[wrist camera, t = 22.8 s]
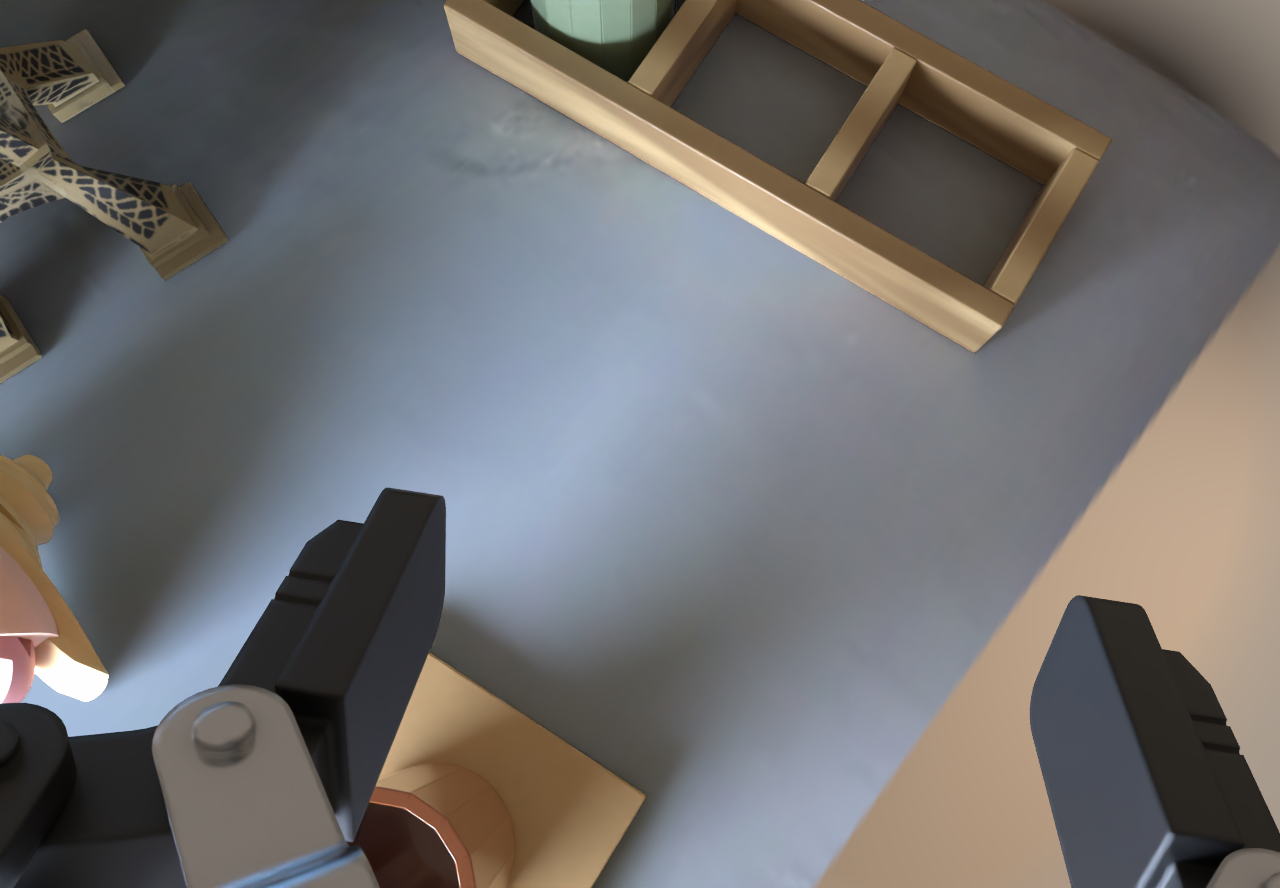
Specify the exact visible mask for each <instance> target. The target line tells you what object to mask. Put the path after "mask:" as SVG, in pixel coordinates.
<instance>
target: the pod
mask: <svg viewBox="0 0 1280 888" xmlns="http://www.w3.org/2000/svg"><path fill="white" fill-rule="evenodd" d="M529 2H530V8H531V15H532V20H533V24H534V29H535V30H536V31H538V32H540V33H542V34H543V35H545V36H547V37H549V38H550V39H552V40H554V41H556V42H557V43H559V44H561V45H563V46H564V47H566V48H568V49H570V50H571V51H573V52H575V53H577V54H578V55H580V56H582V57H584V58H585V59H587V60H589V61H591V62H592V63H594V64H596V65H598V66H599V67H601V68H603V69H604V70H606V71H608V72H610V73H611V74H613V75H615V76H617V77H618V78H620V79H622V80H624V81H628V80H630V79H631V77H632V76H633V74H634V73H635V71H636V70H637V69H638V67H639V66H640V64H641V63H642V61H643V60H644V59H645V57H646V56H647V54H648V53H649V52H650V50H651V49H652V47H653V46H654V44H655V43H656V42H657V40H658V39H659V37H660V36H661V35H662V33H663V32H664V30H665V29H666V27H667V26H668V25H669V23H670V22H671V20H672V19H673V16H674V5H675V0H529Z"/></svg>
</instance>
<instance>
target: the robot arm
mask: <svg viewBox="0 0 1280 888" xmlns="http://www.w3.org/2000/svg"><path fill="white" fill-rule="evenodd" d="M445 542H446V506H445V500H444V497H443V496H440V495H433V494H427V493H420V492H414V491H407V490H400V489H394V488H385V489H384V490H383V491H382V492H381V494H380V496H379V497H378V499H377V501H376V503H375V505H374V506H373V508H372V510H371V512H370V514H369V515H368V517H367V519H366V521H365V523H364V524H362V523H356V522H350V521H343V520H337V521H336V522H334V523H333V524H332V525H330V526H329V527H327V528H326V529H325V530H323V531H322V532H320V533H319V534H318V535H316V536H315V537H313V538H312V539H311V540H309V541H308V542H307V543H306V545H305V546H304V548H303V549H302V551H301V553H300V554H299V556H298V558H297V559H296V561H295V562H294V564H293V566H292V567H291V569H290V573H289V576H286V577H285V579H284V580H283V582H282V584H281V585H280V587H279V589H278V590H277V592H276V595H275V599H274V600H273V599H272V600H271V602H270V603H269V605H268V606H267V608H266V610H265V611H264V613H263V615H262V616H261V618H260V619H259V621H258V623H257V624H256V626H255V628H254V629H253V631H252V632H251V634H250V636H249V637H248V639H247V641H246V642H245V644H244V646H243V647H242V649H241V650H240V652H239V654H238V655H237V657H236V659H235V660H234V662H233V663H232V665H231V667H230V668H229V670H228V672H227V673H226V675H225V676H224V678H223V680H222V681H221V683H220V684H219V686H218V687H215V688H211V689H208V690H205V691H202V692H199V693H197V694H195V695H193V696H191V697H189V698H187V699H185V700H184V701H182V702H181V703H179V704H178V705H176V706H175V707H174V708H173V709H172V710H171V711H170V712H168V714H167V715H166V716H165V717H164V718H163V719H162V721H161V722H160V724H159V725H158V726H154V727H150V728H146V729H140V730H134V731H125V732H115V733H105V734H95V735H85V736H75V737H68V735H67V731H66V727H65V725H64V724H63V722H62V720H61V719H60V718H59V717H58V716H57V715H56V714H55V713H53V712H52V711H50V710H48V709H47V708H44V707H41V706H38V705H34V704H28V703H2V704H0V888H380V887H379V884H378V882H377V880H376V877H375V875H374V873H373V870H372V868H371V866H370V864H369V861H368V859H367V858H366V856H365V854H364V852H363V851H362V849H361V848H360V847H359V846H358V845H354V846H352V847H349V845H348V844H347V842H346V841H349V842H353V841H354V838H355V836H356V833H357V831H358V828H359V826H360V823H361V821H362V818H363V816H364V813H365V811H366V808H367V806H368V803H369V801H370V798H371V796H372V793H373V791H374V788H375V786H376V783H377V781H378V778H379V776H380V773H381V771H382V768H383V766H384V763H385V761H386V758H387V756H388V753H389V751H390V748H391V746H392V743H393V741H394V738H395V736H396V733H397V731H398V728H399V726H400V723H401V721H402V718H403V716H404V713H405V711H406V708H407V706H408V703H409V701H410V698H411V696H412V693H413V691H414V688H415V686H416V683H417V681H418V678H419V676H420V673H421V671H422V668H423V666H424V663H425V661H426V658H427V656H428V653H429V651H430V648H431V646H432V643H433V641H434V638H435V636H436V633H437V630H438V627H439V623H440V619H441V614H442V609H443V603H444V595H445ZM1226 720H1227V719H1226V717H1225V715H1224V712H1223V710H1222V708H1221V706H1220V704H1219V702H1218V700H1217V697H1216V695H1215V693H1214V691H1213V689H1212V687H1211V685H1210V684H1209V683H1208V682H1207V681H1206V680H1205V679H1204V677H1203V676H1202V675H1201V674H1200V673H1199V672H1198V671H1197V670H1196V669H1195V668H1194V667H1193V666H1192V665H1191V664H1190V663H1189V662H1188V660H1187V659H1186V658H1185V657H1184V656H1183V655H1182V654H1181V653H1180V652H1177V651H1170V650H1164V649H1161V646H1160V644H1159V642H1158V639H1157V637H1156V635H1155V632H1154V630H1153V628H1152V625H1151V623H1150V621H1149V618H1148V616H1147V614H1146V612H1145V610H1144V609H1143V608H1142V607H1141V606H1140V605H1137V604H1132V603H1125V602H1119V601H1112V600H1106V599H1099V598H1092V597H1086V596H1080V595H1079V596H1075V597H1074V598H1073V599H1072V600H1071V601H1070V602H1069V604H1068V606H1067V608H1066V610H1065V612H1064V615H1063V617H1062V619H1061V622H1060V624H1059V627H1058V629H1057V631H1056V634H1055V636H1054V638H1053V640H1052V643H1051V645H1050V648H1049V650H1048V652H1047V655H1046V657H1045V660H1044V662H1043V664H1042V666H1041V669H1040V671H1039V674H1038V676H1037V678H1036V681H1035V683H1034V687H1033V691H1032V696H1031V703H1030V725H1031V731H1032V736H1033V740H1034V743H1035V747H1036V751H1037V755H1038V759H1039V763H1040V767H1041V771H1042V775H1043V779H1044V782H1045V786H1046V790H1047V794H1048V798H1049V802H1050V805H1051V810H1052V814H1053V817H1054V821H1055V825H1056V829H1057V833H1058V837H1059V841H1060V845H1061V848H1062V852H1063V856H1064V860H1065V864H1066V868H1067V872H1068V876H1069V879H1070V883H1071V887H1072V888H1280V833H1279V831H1278V828H1277V826H1276V824H1275V822H1274V820H1273V818H1272V816H1271V814H1270V811H1269V809H1268V807H1267V805H1266V803H1265V801H1264V799H1263V796H1262V795H1261V792H1260V790H1259V788H1258V786H1257V783H1256V781H1255V779H1254V777H1253V775H1252V773H1251V770H1250V768H1249V766H1248V764H1247V762H1246V760H1245V758H1244V756H1243V755H1240V754H1239V749H1240V747H1239V745H1238V743H1237V740H1236V738H1235V736H1234V734H1233V732H1232V730H1231V727H1229V726H1226Z"/></svg>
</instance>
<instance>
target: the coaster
mask: <svg viewBox="0 0 1280 888" xmlns="http://www.w3.org/2000/svg"><path fill="white" fill-rule="evenodd" d="M426 762H443V763H451V764H455V765H459V766H462V767H464V768H466V769H469V770H471V771H473V772H474V773H476V774H478V775H479V776H481V777H482V778H483V779H485V780H486V781H487V782H488V783H489V784H490V785H491V786H492V787H493V788H494V789H495V790H496V791H497V793H498V794H499V795H500V797H501V798H502V800H503V801H504V803H505V805H506V807H507V809H508V811H509V814H510V816H511V819H512V823H513V827H514V832H515V840H516V853H515V861H514V866H513V870H512V874H511V877H510V881H509V884H508V887H507V888H592V887H593V885H594V883H595V882H596V880H597V878H598V877H599V875H600V873H601V872H602V870H603V868H604V867H605V865H606V864H607V862H608V860H609V859H610V857H611V855H612V854H613V852H614V850H615V849H616V847H617V845H618V844H619V842H620V840H621V839H622V837H623V835H624V834H625V832H626V830H627V829H628V827H629V825H630V824H631V822H632V820H633V819H634V817H635V815H636V814H637V812H638V810H639V809H640V807H641V805H642V804H643V802H644V800H645V799H646V795H645V794H644V793H642V792H641V791H639V790H638V789H636V788H635V787H633V786H632V785H630V784H629V783H627V782H625V781H624V780H622V779H621V778H619V777H618V776H616V775H615V774H613V773H612V772H610V771H609V770H607V769H606V768H604V767H603V766H601V765H600V764H598V763H597V762H595V761H594V760H592V759H591V758H589V757H588V756H586V755H585V754H583V753H582V752H580V751H579V750H577V749H576V748H574V747H572V746H571V745H569V744H568V743H566V742H565V741H563V740H562V739H560V738H559V737H557V736H556V735H554V734H553V733H551V732H550V731H548V730H547V729H545V728H544V727H542V726H541V725H539V724H538V723H536V722H535V721H533V720H532V719H530V718H529V717H527V716H526V715H524V714H523V713H521V712H520V711H518V710H516V709H515V708H513V707H512V706H510V705H509V704H507V703H506V702H504V701H503V700H501V699H500V698H498V697H497V696H495V695H494V694H492V693H491V692H489V691H488V690H486V689H485V688H483V687H482V686H480V685H479V684H477V683H476V682H474V681H473V680H471V679H470V678H468V677H467V676H465V675H463V674H462V673H460V672H459V671H457V670H456V669H454V668H453V667H451V666H450V665H448V664H447V663H445V662H444V661H442V660H441V659H439V658H438V657H436V656H435V655H433V654H432V653H430V652H429V653H428V656H427V658H426V661H425V663H424V666H423V668H422V671H421V673H420V676H419V678H418V681H417V683H416V686H415V688H414V691H413V693H412V696H411V698H410V701H409V703H408V706H407V708H406V711H405V713H404V716H403V718H402V721H401V723H400V726H399V728H398V731H397V733H396V736H395V738H394V741H393V743H392V746H391V748H390V751H389V753H388V756H387V758H386V761H385V763H384V766H383V768H382V771H381V773H380V775H383V774H386V773H389V772H392V771H394V770H397V769H401V768H405V767H409V766H413V765H416V764H421V763H426Z"/></svg>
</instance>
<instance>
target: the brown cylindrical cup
mask: <svg viewBox="0 0 1280 888" xmlns="http://www.w3.org/2000/svg"><path fill="white" fill-rule="evenodd" d="M346 842H347V844H348V845H349V847H352V846H354V845H358V846H359V847H360V848H361V849H362V851H363V852H364V854H365V856H366V858H367V859H368V861H369V864H370V866H371V868H372V870H373V873H374V875H375V877H376V880H377V882H378V884H379V887H380V888H507V887H508V884H509V881H510V877H511V874H512V870H513V866H514V861H515V853H516V840H515V832H514V827H513V823H512V819H511V816H510V814H509V811H508V809H507V807H506V805H505V803H504V801H503V800H502V798H501V797H500V795H499V794H498V793H497V791H496V790H495V789H494V788H493V787H492V786H491V785H490V784H489V783H488V782H487V781H486V780H485V779H483V778H482V777H481V776H479V775H478V774H476V773H474V772H473V771H471V770H469V769H466V768H464V767H462V766H459V765H455V764H451V763H443V762H426V763H421V764H416V765H413V766H409V767H405V768H401V769H397V770H394V771H392V772H389V773H386V774H383V775H380V776H379V778H378V781H377V783H376V786H375V788H374V791H373V793H372V796H371V798H370V801H369V803H368V806H367V808H366V811H365V813H364V816H363V818H362V821H361V823H360V826H359V828H358V831H357V833H356V836H355V838H354V841H353V842H349V841H346Z"/></svg>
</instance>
